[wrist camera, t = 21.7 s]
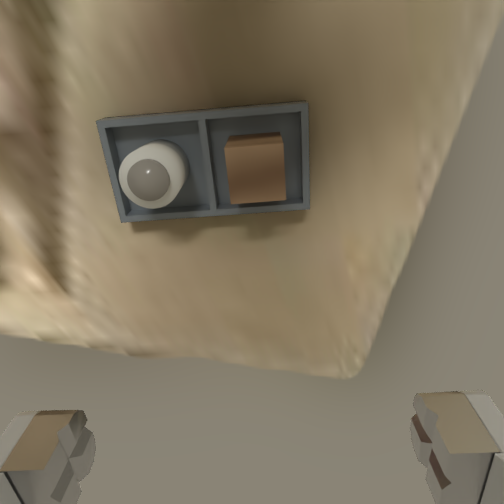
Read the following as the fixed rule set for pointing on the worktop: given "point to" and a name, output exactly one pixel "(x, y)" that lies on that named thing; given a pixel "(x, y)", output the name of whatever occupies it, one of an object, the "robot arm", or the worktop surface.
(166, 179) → the salt pot
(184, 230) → the worktop surface
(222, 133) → the tray
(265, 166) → the walnut block
